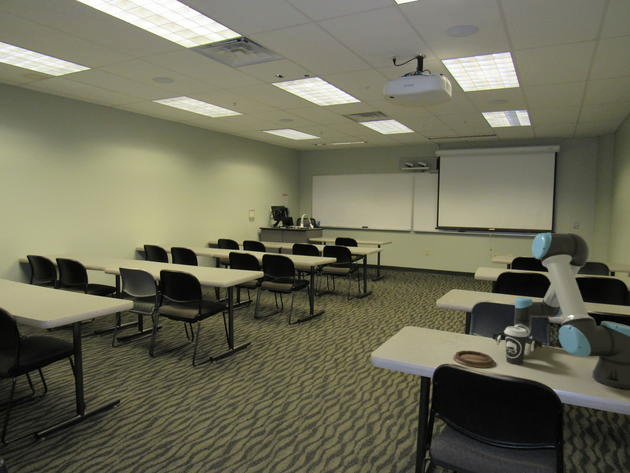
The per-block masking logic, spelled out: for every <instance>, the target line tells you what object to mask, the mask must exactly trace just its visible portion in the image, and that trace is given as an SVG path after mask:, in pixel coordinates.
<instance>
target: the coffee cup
mask: <svg viewBox="0 0 630 473" xmlns="http://www.w3.org/2000/svg"><path fill="white" fill-rule="evenodd" d="M503 331H504V333H505V338H506V340H505V353H506V354H505V358H506V362H507V363H509V364H511V365H516V366H521V365H524V357H525V352H526V344H527V343H526V339H527V336H528V333H527V331H526V329H524V328H520V327H514V326H507V327H506V328H505V329H504V330H503Z"/></svg>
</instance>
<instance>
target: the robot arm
mask: <svg viewBox="0 0 630 473" xmlns="http://www.w3.org/2000/svg"><path fill="white" fill-rule="evenodd" d="M531 253H532V256H533V258H535V259H537V260H540V262H541V264H542V266H543V267H545V268H546V269H547V271H548V273H549V277H550V280H551V283H550V285H549V287H548V289H547V291H546V293H545V295H544V297H543V299H542V301H533V299H532V298H530V297H525V296H519V297H518V296H517V297H516V299H515V302H514V303H515V304H514V321H513V322H514V323H513V327H520V328H524V329H526V331H527V333H528V336H527V339H526V344H528V345H530V351H531V352H534V349H537V348H540V349H542V348H543V341H542V340H540V339H538V338H537V337H536V335H531V336H530V334H531V332H532V318H559V317H561V316H562V317H563V321H562V322H561V327H560V328H559V330H558V340H559V343H560V345H561V347H562V349H563V350H564V351H565V352H567V353H568V354H570V355H571V356H575V357H583V358H584V357H598V360H597V362H596V365H595V366H594V369H593V370H592V379H593V378H594V379H595V381H596V380H597V381H596V382H598V383H600V382H601V383H600V384H602V383H603V384H602V385H604V384H605V386H607V385H608V387H612V388H615V387H617V389H620V388H623V389H622V390H628V389H630V326H629V325H626V324H623V323H617V322H613V321H607V320H603V321H601V322H600V325H597V322H596V319H595V318H593V317H592V316H590V315H589V314H588V311H587V308H586V305H585V302H584V300H583V297H582V294H581V290H580V289H579V284H578V282H577V280H576V276H577V275H578V272H579V270H580V269H581V268H582V267H584V266H585V265H586V263H587V261H588V260H589V255H590V248H589V245H588V242H587V240H585V238H584V237H583V236H581V235H578V234H577V233H572V232H571V233H566V232H565V233H562V232H559V233H558V232H541V233H539V234H537V235H536V236H535V237H534V239H533V241H532V244H531ZM504 331H505V330H503V331H499V332H495V333H492V340H494V341H495V342H496V346H499V345H500V343H501V341H506V338H505V333H504ZM594 379H593V380H594Z"/></svg>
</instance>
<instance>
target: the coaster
mask: <svg viewBox="0 0 630 473" xmlns="http://www.w3.org/2000/svg"><path fill="white" fill-rule="evenodd" d="M453 360H454V362H456V363H457V364H459V365H462V366H466V367H470V368H474V369H488V368H491V367H492V368H493V367H494V366H495V360H494V359H493V357H492V356H491V355H489V354H486V353H484V352H481V351H477V350H476V351H475V350H460V351H457V352H456V353H455V354H454V355H453Z"/></svg>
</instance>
